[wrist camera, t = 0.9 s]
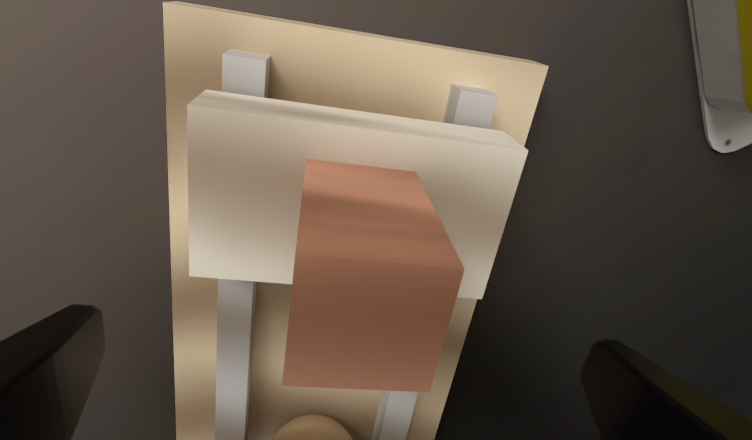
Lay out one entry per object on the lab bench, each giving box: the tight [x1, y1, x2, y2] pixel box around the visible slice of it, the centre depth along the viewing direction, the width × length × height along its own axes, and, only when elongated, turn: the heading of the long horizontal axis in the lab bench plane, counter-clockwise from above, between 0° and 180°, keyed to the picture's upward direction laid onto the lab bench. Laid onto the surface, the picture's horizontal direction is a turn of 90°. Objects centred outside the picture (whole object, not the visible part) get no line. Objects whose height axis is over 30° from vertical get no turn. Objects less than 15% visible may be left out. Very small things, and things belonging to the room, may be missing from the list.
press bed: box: [163, 1, 549, 440], centre depth 18 cm, size 22×12×6 cm, turn 171°
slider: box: [187, 90, 528, 392], centre depth 12 cm, size 5×9×7 cm, turn 81°
